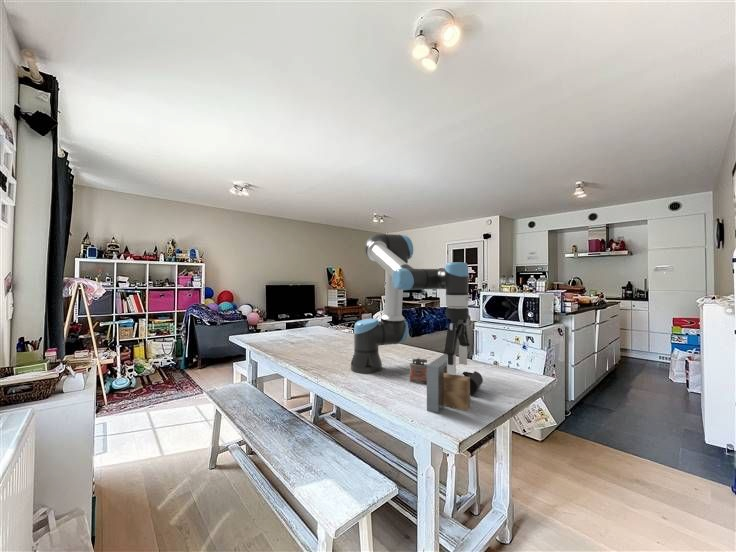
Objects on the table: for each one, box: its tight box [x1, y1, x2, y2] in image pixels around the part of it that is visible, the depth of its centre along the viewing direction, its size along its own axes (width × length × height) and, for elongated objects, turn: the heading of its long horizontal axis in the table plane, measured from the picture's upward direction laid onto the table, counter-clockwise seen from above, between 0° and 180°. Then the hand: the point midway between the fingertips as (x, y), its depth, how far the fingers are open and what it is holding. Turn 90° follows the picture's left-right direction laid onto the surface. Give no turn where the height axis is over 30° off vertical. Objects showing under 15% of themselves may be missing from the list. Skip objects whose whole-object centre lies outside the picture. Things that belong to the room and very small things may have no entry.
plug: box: [444, 373, 471, 412], centre depth 109 cm, size 13×4×12 cm, turn 58°
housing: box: [426, 353, 447, 414], centre depth 110 cm, size 4×18×15 cm, turn 148°
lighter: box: [409, 357, 428, 385], centre depth 131 cm, size 8×3×10 cm, turn 68°
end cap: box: [460, 370, 484, 397], centre depth 120 cm, size 10×7×7 cm
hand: (457, 369), depth 107 cm, fingers open, 13 cm apart
